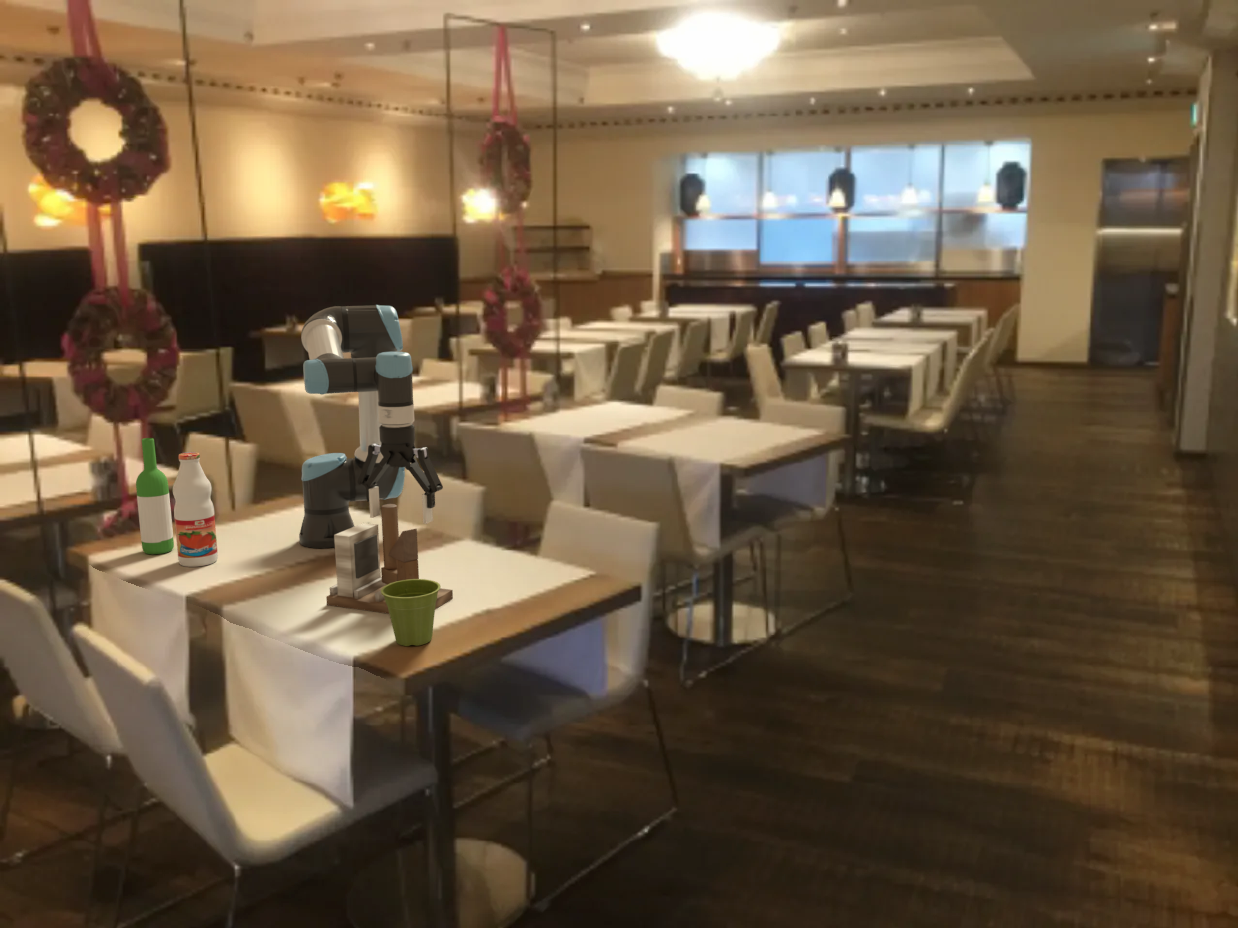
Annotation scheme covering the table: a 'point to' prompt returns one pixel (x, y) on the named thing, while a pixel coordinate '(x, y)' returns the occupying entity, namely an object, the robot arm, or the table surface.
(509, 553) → the table surface
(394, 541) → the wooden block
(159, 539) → the wine bottle
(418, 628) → the plant pot
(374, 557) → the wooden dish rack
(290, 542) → the table surface
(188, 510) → the fruit juice
